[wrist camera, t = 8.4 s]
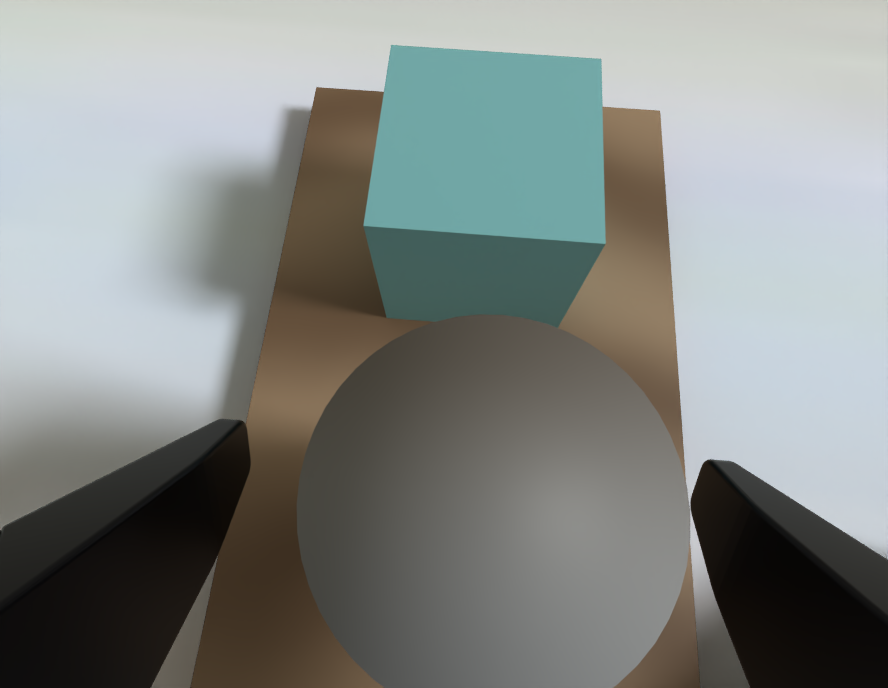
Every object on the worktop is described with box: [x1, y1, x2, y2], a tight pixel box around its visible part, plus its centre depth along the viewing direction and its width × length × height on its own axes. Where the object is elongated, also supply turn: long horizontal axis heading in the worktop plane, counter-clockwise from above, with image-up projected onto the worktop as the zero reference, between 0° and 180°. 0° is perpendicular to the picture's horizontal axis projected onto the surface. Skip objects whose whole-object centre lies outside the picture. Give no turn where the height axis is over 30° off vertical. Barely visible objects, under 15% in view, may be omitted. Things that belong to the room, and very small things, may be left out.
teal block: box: [363, 45, 606, 328], centre depth 14 cm, size 5×5×5 cm
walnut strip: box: [190, 87, 700, 688], centre depth 11 cm, size 19×12×11 cm, turn 175°
